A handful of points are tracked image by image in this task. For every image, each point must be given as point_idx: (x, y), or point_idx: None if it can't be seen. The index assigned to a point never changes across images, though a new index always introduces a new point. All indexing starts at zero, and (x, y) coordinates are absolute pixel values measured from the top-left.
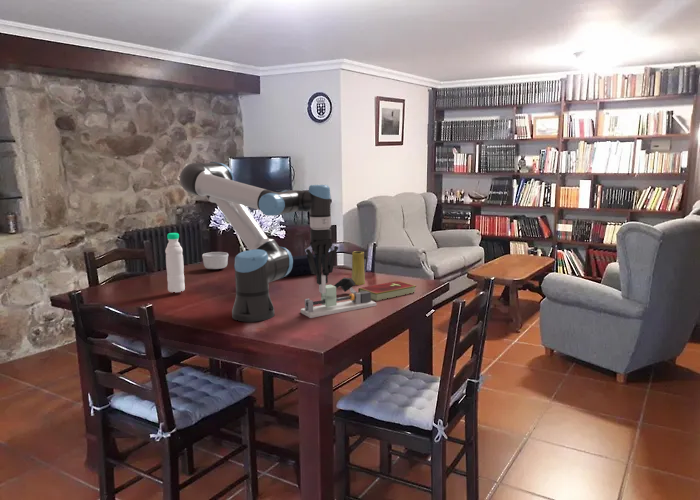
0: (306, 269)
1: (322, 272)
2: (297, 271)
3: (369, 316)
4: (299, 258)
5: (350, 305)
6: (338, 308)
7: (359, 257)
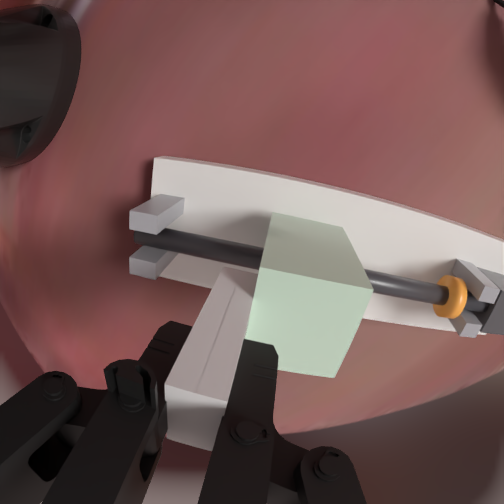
0: None
1: (218, 433)
2: None
3: (357, 392)
4: None
5: (403, 299)
6: None
7: None
